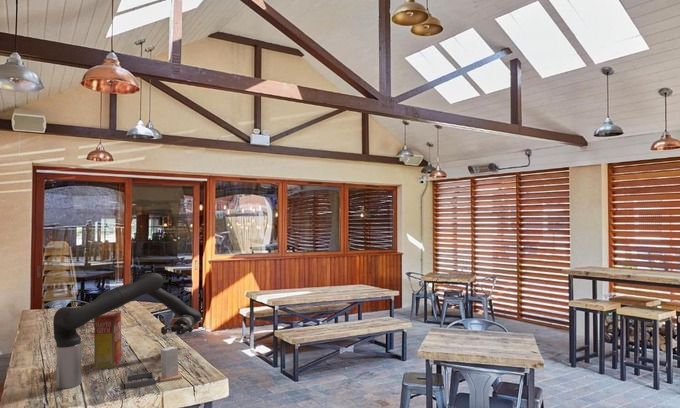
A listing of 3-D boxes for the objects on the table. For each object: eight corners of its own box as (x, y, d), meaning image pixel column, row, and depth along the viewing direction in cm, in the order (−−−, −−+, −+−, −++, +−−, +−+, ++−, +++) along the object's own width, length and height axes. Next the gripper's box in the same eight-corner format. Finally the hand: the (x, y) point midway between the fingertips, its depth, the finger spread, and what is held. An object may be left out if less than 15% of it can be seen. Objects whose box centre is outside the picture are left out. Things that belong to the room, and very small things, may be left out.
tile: (160, 382, 205) (160, 380, 205) (159, 375, 213) (159, 374, 213) (182, 378, 208) (182, 376, 208) (180, 372, 216) (180, 370, 216)
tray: (125, 388, 198) (125, 383, 198) (125, 380, 209) (125, 375, 209) (154, 383, 202) (154, 379, 203) (153, 375, 213) (153, 371, 213)
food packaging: (114, 368, 226) (113, 315, 227) (93, 369, 225) (92, 316, 225) (122, 359, 239) (121, 310, 240) (102, 361, 238) (101, 311, 238)
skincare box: (173, 372, 214) (172, 346, 215) (178, 374, 212) (178, 347, 212) (161, 376, 210) (160, 349, 210) (166, 378, 207) (165, 350, 207)
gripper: (168, 318, 239) (157, 324, 222) (197, 317, 239) (188, 323, 223) (168, 333, 238) (157, 340, 222) (197, 332, 239) (188, 340, 223)
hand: (172, 332), depth 223 cm, fingers open, 8 cm apart
